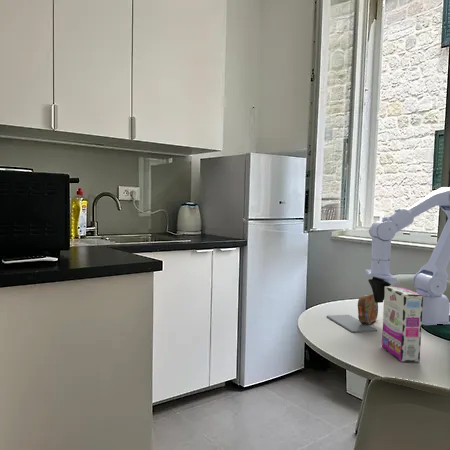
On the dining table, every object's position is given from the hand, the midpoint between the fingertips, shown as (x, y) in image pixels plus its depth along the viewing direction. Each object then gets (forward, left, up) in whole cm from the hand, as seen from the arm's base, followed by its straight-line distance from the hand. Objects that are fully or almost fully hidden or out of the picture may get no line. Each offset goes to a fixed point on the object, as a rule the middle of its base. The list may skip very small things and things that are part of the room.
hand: (378, 302), depth 138 cm
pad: (+10, 0, -6) cm, 12 cm away
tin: (+4, 0, -6) cm, 7 cm away
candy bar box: (+11, +27, -7) cm, 30 cm away
